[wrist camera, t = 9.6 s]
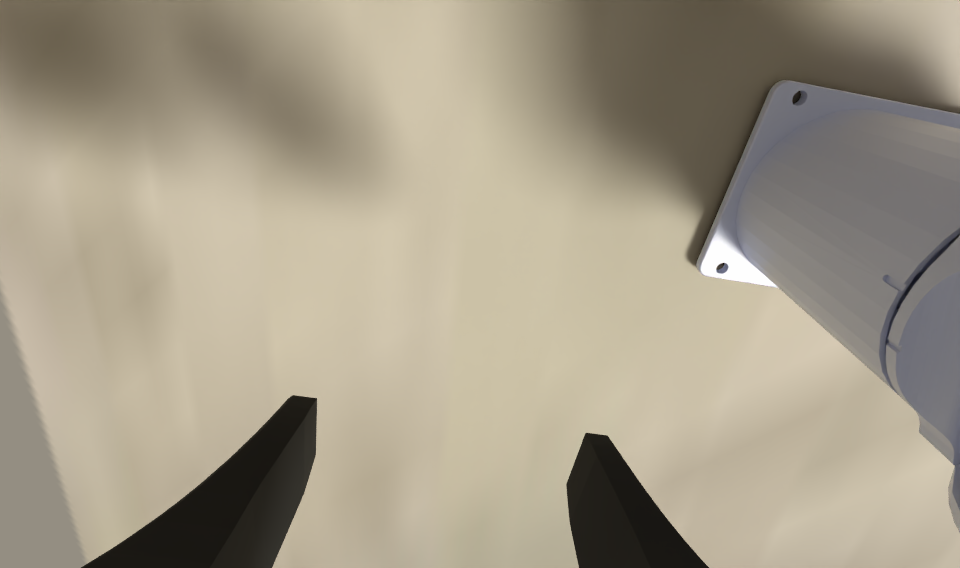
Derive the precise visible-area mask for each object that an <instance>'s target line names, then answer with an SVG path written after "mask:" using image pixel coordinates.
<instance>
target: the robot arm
mask: <svg viewBox="0 0 960 568" xmlns="http://www.w3.org/2000/svg"><path fill="white" fill-rule="evenodd" d="M798 91H800V92H801V97H800V99H799V101H798V102H796V103H795V104H793V102H792V99H793V96H794V95H795V93H797V92H798ZM721 263H724V266H723V267H722V268H721V269H719V270H716V267H717V266H718V265H719V264H721ZM696 266H697V269H698V271H699V272H700V273H701V274H702V275H704V276H708V277H714V278H720V279H727V280H733V281H739V282H745V283H752V284H758V285H764V286H770V287H777V288H779V289H780V290H782V291H783V292H784V293H785V294H786V295H787V296H788V297H789V298H791V299H792V300H793V301H794V302H795V303H796V304H797V305H798V306H799V307H801V308H802V309H803V310H804V311H805V312H806V313H807V314H808V315H810V316H811V317H812V318H813V319H814V320H815V321H816V322H817V323H819V324H820V325H821V326H822V327H823V328H824V329H825V330H826V331H827V332H829V333H830V334H831V335H832V336H833V337H834V338H835V339H836V340H838V341H839V342H840V343H841V344H842V345H843V346H844V347H845V348H847V349H848V350H849V351H850V352H851V353H852V354H853V355H854V356H855V357H857V358H858V359H859V360H860V361H861V362H862V363H863V364H864V365H866V366H867V367H868V368H869V369H870V370H871V371H872V372H873V373H875V374H876V375H877V376H878V377H879V378H880V379H881V380H882V381H883V382H885V383H886V384H887V385H888V386H889V387H890V388H891V389H892V390H894V391H895V392H896V393H897V394H898V395H899V396H900V397H901V398H902V399H903V400H904V401H906V402H907V403H908V404H909V405H910V406H911V407H912V408H913V409H914V410H915V411H916V412H917V414H918V416H919V420H920V426H919V433H920V434H921V435H923V436H924V437H925V438H926V439H927V440H928V441H929V442H930V443H931V444H932V445H933V446H934V447H935V448H936V449H937V450H939V451H940V452H941V453H942V454H943V455H944V456H945V457H946V458H947V459H948V460H949V461H950V462H951V463H952V464H953V465H955V468H954V471H953V474H952V477H951V481H950V484H949V487H948V490H949V506H950V509H951V513H952V516H953V519H954V523H955V524H956V526H957V528H958V530H959V532H960V114H958V113H953V112H947V111H942V110H937V109H932V108H927V107H922V106H917V105H912V104H907V103H902V102H897V101H892V100H887V99H882V98H877V97H872V96H867V95H861V94H856V93H851V92H846V91H841V90H836V89H831V88H826V87H821V86H816V85H811V84H806V83H801V82H796V81H791V80H782V81H779V82H777V83H776V84H775V85H774V86H772V88H771V90H770V91H769V93H768V95H767V98H766V100H765V103H764V105H763V107H762V110H761V112H760V114H759V117H758V119H757V121H756V124H755V126H754V128H753V131H752V133H751V135H750V138H749V140H748V143H747V145H746V147H745V150H744V152H743V154H742V157H741V159H740V161H739V164H738V166H737V168H736V171H735V173H734V175H733V178H732V180H731V183H730V185H729V187H728V190H727V192H726V194H725V197H724V199H723V201H722V204H721V206H720V208H719V211H718V213H717V215H716V218H715V220H714V223H713V225H712V227H711V230H710V232H709V234H708V237H707V239H706V241H705V244H704V246H703V248H702V251H701V253H700V255H699V258H698V260H697V264H696ZM316 417H317V398H310V397H302V396H294V395H293V396H291V397H290V398H288V400H287V401H286V402H285V403H284V404H283V405H282V406H281V407H280V408H279V409H278V411H277V412H276V413H275V414H274V415H273V416H272V417H271V418H270V419H269V420H268V421H267V422H266V423H265V424H264V425H263V426H262V427H261V428H260V429H259V430H258V431H257V433H256V434H255V435H253V436H252V437H251V438H250V439H249V440H248V441H247V442H246V443H245V444H244V445H243V446H242V447H241V448H240V449H239V450H238V451H237V452H236V453H235V454H234V455H233V456H232V457H231V458H229V459H228V460H227V461H226V462H225V463H224V464H223V465H222V466H220V467H219V468H218V469H217V470H216V471H215V472H214V473H212V474H211V475H210V476H209V477H208V478H207V479H206V480H204V481H203V482H202V483H201V484H200V485H198V486H197V487H196V488H195V489H194V490H192V491H191V492H190V493H189V494H187V495H186V496H185V497H184V498H182V499H181V500H180V501H179V502H177V503H176V504H175V505H173V506H172V507H171V508H169V509H168V510H167V511H165V512H164V513H163V514H161V515H160V516H159V517H157V518H156V519H154V520H153V521H152V522H150V523H149V524H147V525H146V526H144V527H143V528H142V529H140V530H139V531H137V532H136V533H134V534H133V535H132V536H130V537H129V538H127V539H126V540H124V541H123V542H121V543H120V544H118V545H117V546H115V547H114V548H112V549H111V550H109V551H107V552H106V553H104V554H102V555H101V556H99V557H98V558H96V559H94V560H93V561H91V562H89V563H88V564H86V565H85V566H83V567H81V568H272V566H273V564H274V562H275V559H276V557H277V555H278V552H279V550H280V548H281V545H282V543H283V541H284V539H285V536H286V534H287V532H288V529H289V527H290V525H291V522H292V520H293V518H294V515H295V513H296V511H297V508H298V506H299V504H300V501H301V499H302V496H303V494H304V491H305V488H306V485H307V482H308V479H309V475H310V472H311V469H312V465H313V462H314V459H315V455H316ZM567 497H568V509H569V518H570V525H571V531H572V536H573V540H574V545H575V550H576V555H577V560H578V564H579V568H709V567H708V566H707V565H706V564H705V563H704V562H703V561H702V560H701V559H700V558H699V556H698V555H697V554H696V553H695V552H694V551H693V550H692V549H691V547H690V546H689V545H688V544H687V543H686V542H685V540H684V539H683V538H682V537H681V536H680V534H679V533H678V532H677V531H676V529H675V528H674V527H673V526H672V525H671V523H670V522H669V521H668V520H667V518H666V517H665V516H664V514H663V513H662V512H661V511H660V509H659V508H658V507H657V505H656V504H655V502H654V501H653V500H652V498H651V497H650V496H649V494H648V493H647V492H646V490H645V489H644V487H643V486H642V485H641V483H640V482H639V480H638V479H637V478H636V476H635V475H634V473H633V472H632V470H631V469H630V468H629V466H628V465H627V463H626V462H625V460H624V459H623V457H622V456H621V454H620V453H619V452H618V450H617V449H616V447H615V446H614V444H613V443H612V441H611V440H610V439H609V437H608V436H606V435H598V434H590V433H586V434H585V436H584V439H583V442H582V444H581V447H580V450H579V452H578V455H577V458H576V460H575V463H574V466H573V468H572V471H571V474H570V476H569V479H568V482H567Z"/></svg>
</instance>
